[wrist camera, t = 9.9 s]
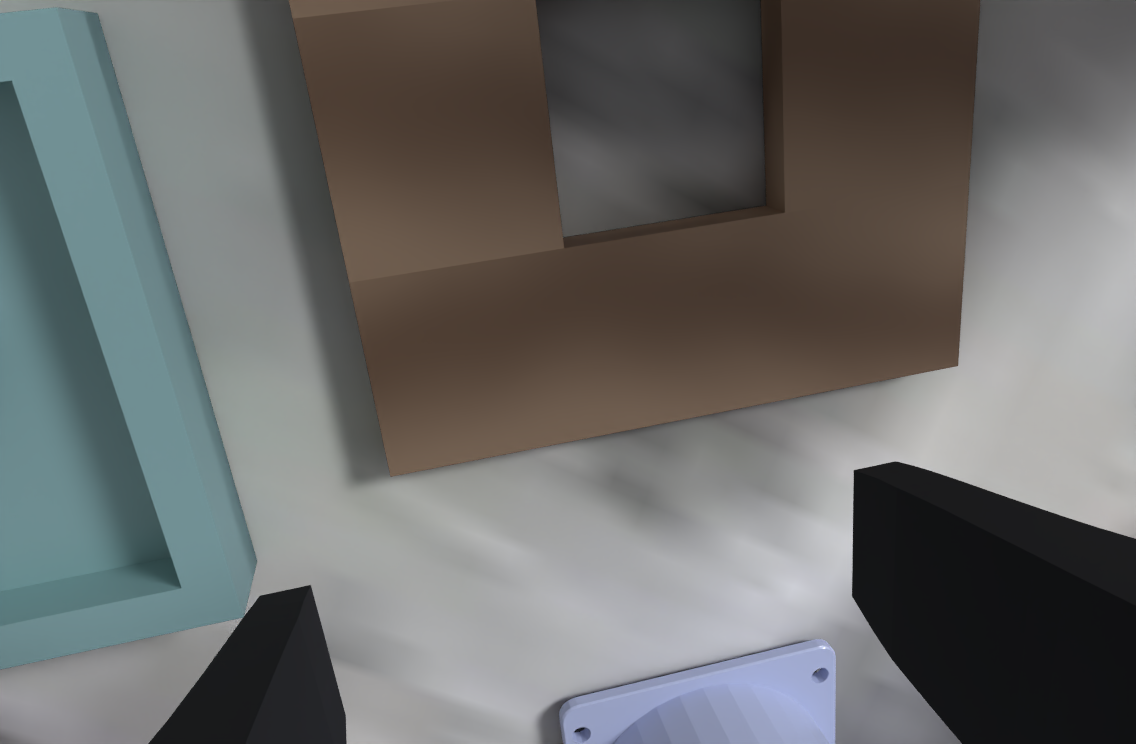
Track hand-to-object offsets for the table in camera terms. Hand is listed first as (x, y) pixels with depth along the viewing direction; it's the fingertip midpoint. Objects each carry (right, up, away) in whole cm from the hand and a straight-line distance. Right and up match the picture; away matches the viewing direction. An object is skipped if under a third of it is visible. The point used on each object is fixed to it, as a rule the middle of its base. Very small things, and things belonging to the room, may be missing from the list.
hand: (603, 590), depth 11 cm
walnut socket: (+1, +9, +7) cm, 11 cm away
